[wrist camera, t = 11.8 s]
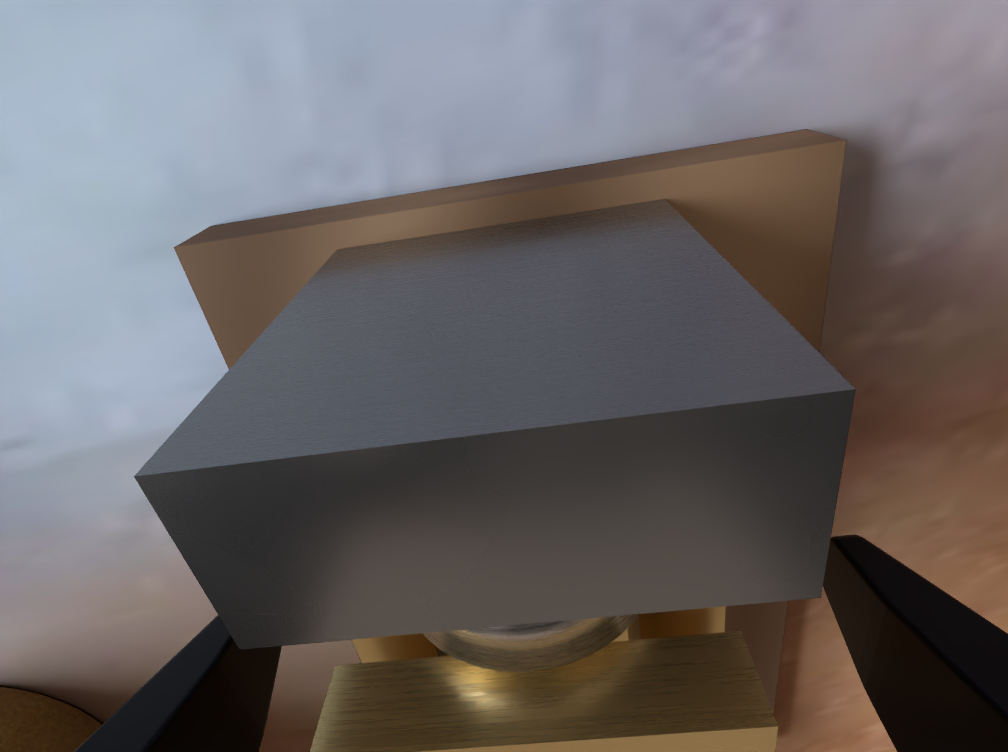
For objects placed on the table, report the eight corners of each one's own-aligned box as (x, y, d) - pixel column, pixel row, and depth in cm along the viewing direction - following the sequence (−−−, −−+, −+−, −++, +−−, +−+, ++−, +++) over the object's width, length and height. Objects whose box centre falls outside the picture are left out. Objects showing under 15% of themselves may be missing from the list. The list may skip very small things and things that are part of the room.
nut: (665, 436, 10) (778, 725, 6) (669, 589, 12) (756, 892, 8) (392, 468, 11) (307, 759, 6) (438, 611, 13) (398, 907, 8)
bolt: (664, 198, 10) (855, 390, 4) (676, 764, 19) (743, 1062, 14) (336, 249, 11) (134, 476, 5) (499, 775, 20) (493, 1065, 14)
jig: (806, 129, 11) (1178, 230, 5) (749, 739, 21) (844, 1018, 15) (211, 225, 12) (-105, 408, 6) (431, 761, 22) (399, 1029, 16)
